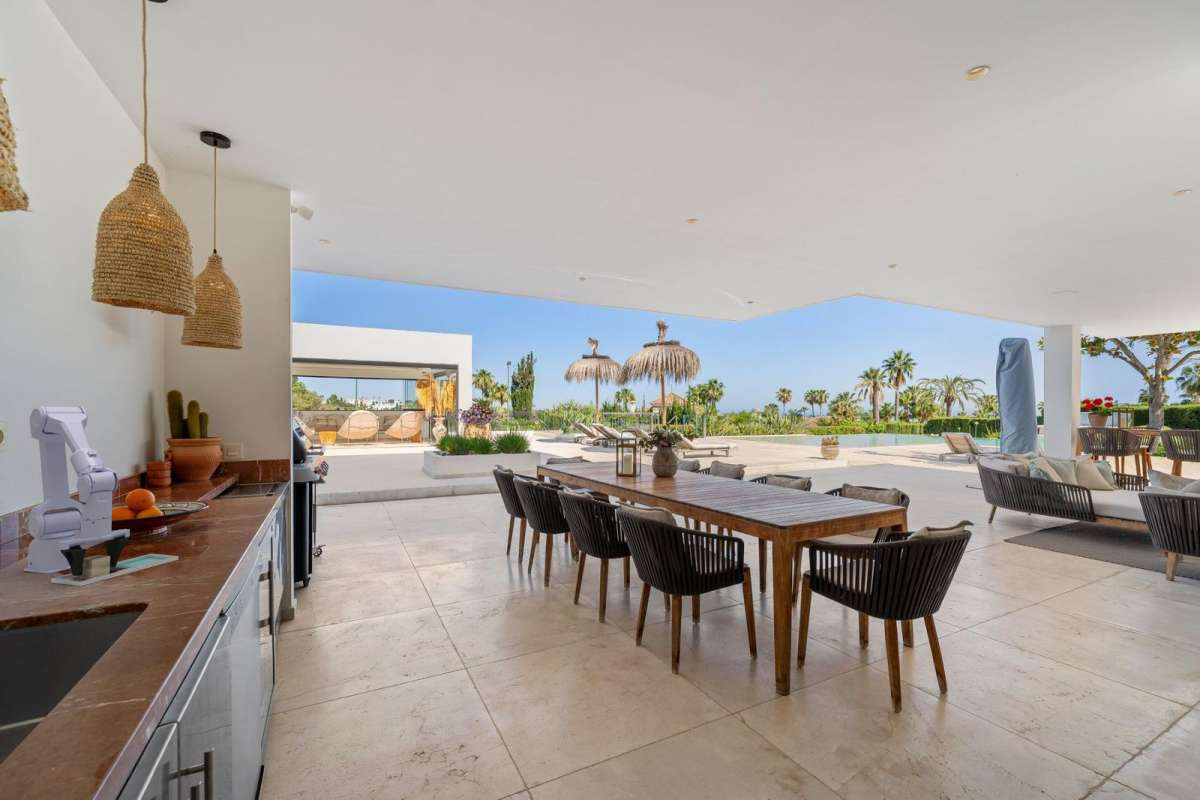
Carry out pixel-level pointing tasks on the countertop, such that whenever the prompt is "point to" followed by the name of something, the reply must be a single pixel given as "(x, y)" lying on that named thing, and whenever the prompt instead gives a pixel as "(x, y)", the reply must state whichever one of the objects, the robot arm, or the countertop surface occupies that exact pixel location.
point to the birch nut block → (95, 566)
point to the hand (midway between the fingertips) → (95, 570)
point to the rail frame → (119, 569)
